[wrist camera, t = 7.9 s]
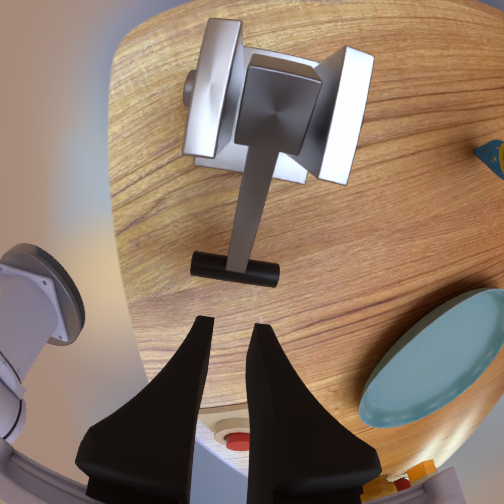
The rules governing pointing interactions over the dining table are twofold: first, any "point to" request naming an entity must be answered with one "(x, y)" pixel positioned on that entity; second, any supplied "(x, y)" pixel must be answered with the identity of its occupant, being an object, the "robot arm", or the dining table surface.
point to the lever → (262, 159)
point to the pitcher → (377, 489)
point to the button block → (226, 420)
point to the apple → (402, 484)
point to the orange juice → (421, 472)
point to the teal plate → (435, 359)
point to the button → (238, 441)
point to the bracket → (229, 98)
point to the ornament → (492, 156)
